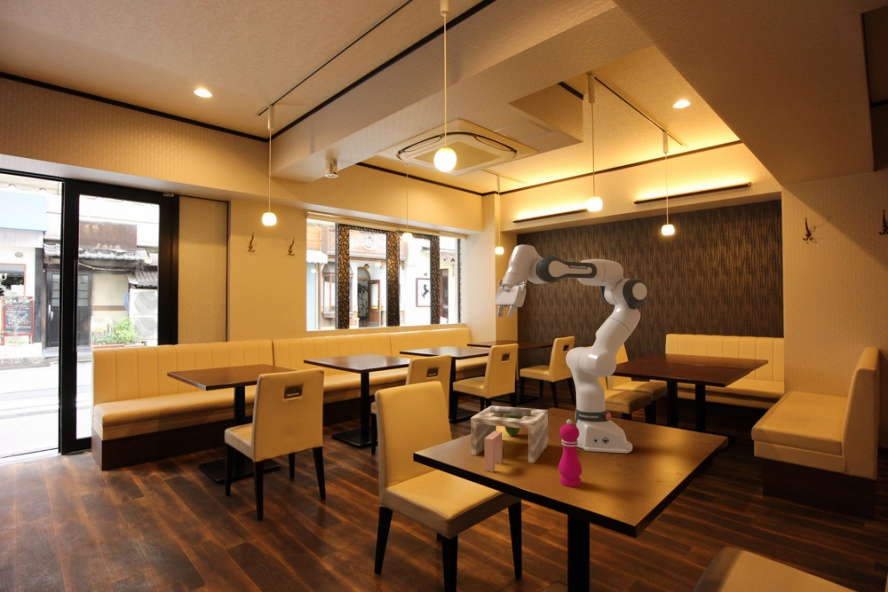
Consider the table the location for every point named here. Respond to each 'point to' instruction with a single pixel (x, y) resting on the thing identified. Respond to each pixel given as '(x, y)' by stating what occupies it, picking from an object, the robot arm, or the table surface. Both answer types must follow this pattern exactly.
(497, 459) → the u piece
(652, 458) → the table surface
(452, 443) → the table surface
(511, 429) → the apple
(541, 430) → the shelf
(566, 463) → the pepper mill
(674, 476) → the table surface
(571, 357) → the robot arm
